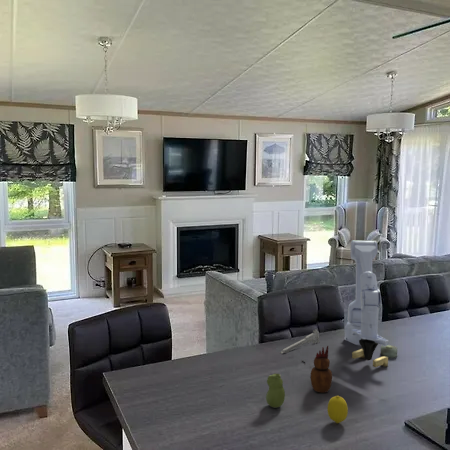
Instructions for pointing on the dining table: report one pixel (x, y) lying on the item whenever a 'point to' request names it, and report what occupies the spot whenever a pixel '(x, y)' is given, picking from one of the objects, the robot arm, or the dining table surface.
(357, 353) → the knob
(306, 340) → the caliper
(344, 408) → the lemon
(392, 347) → the base
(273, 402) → the pear
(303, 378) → the dining table surface
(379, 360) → the knob
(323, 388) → the wooden figurine
